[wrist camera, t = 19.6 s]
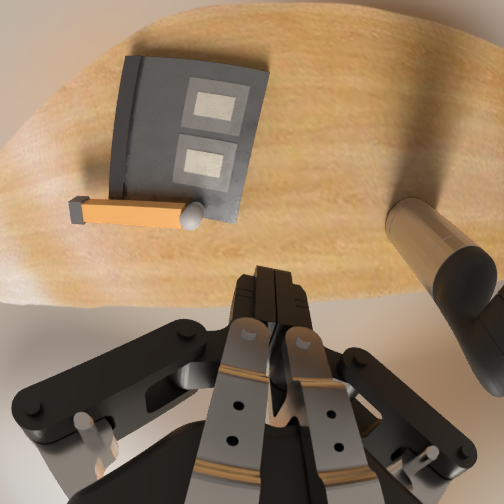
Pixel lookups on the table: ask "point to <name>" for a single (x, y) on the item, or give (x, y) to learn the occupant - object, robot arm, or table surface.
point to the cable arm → (135, 213)
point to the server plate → (185, 133)
